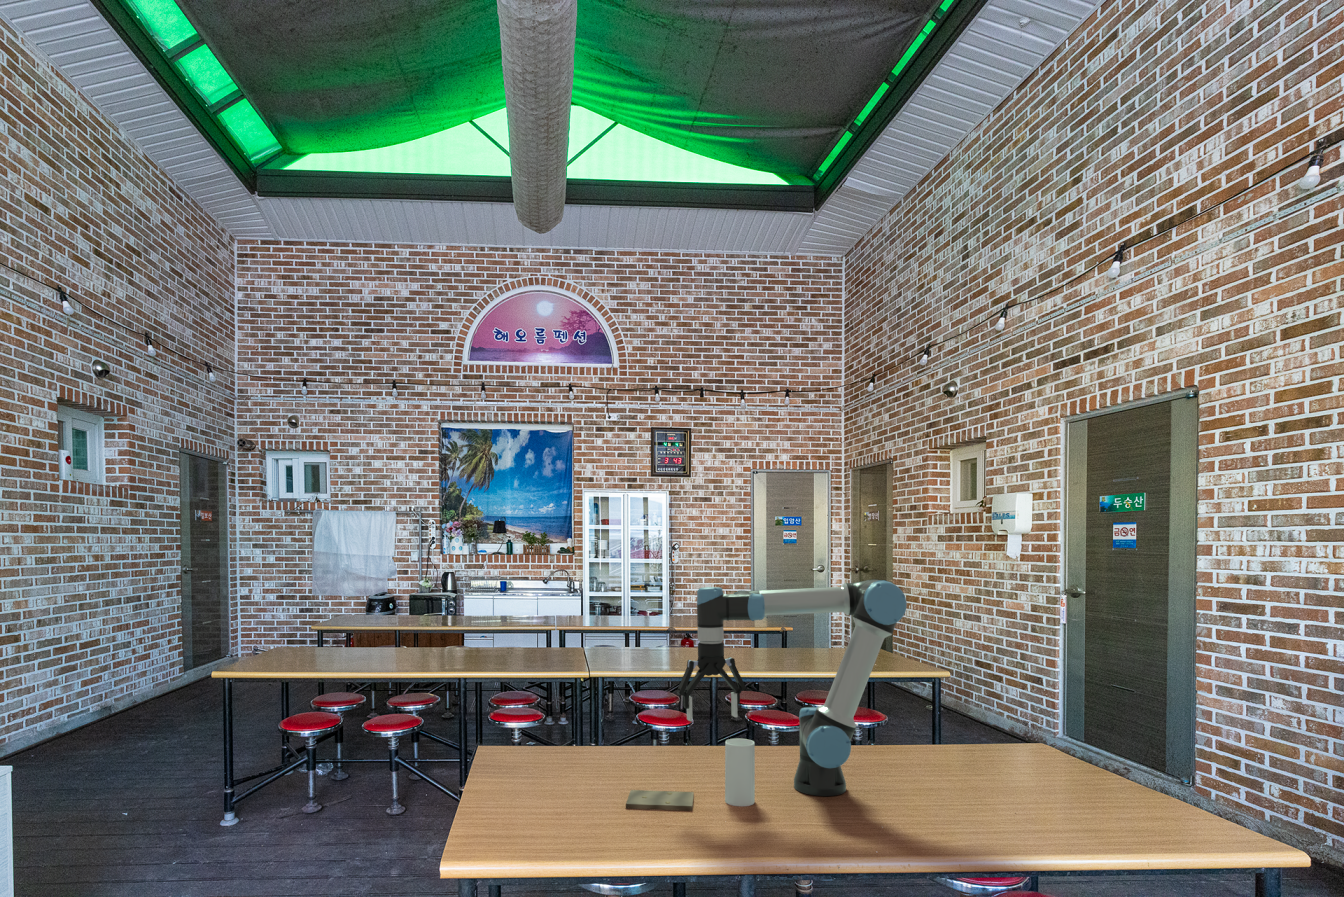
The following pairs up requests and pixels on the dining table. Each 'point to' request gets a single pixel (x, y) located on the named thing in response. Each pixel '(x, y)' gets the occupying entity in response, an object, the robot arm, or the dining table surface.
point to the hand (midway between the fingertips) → (712, 718)
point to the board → (660, 800)
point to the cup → (740, 772)
